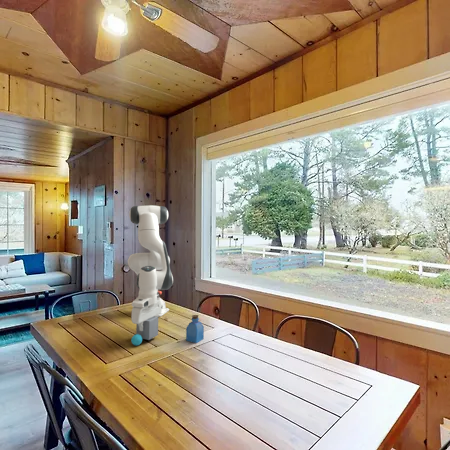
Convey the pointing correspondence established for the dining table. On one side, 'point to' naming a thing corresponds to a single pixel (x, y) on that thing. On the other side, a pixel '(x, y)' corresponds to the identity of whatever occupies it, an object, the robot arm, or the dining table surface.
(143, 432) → the dining table surface
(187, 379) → the dining table surface
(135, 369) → the dining table surface
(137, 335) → the ball
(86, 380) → the dining table surface
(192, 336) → the perfume bottle
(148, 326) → the gray cuboid
